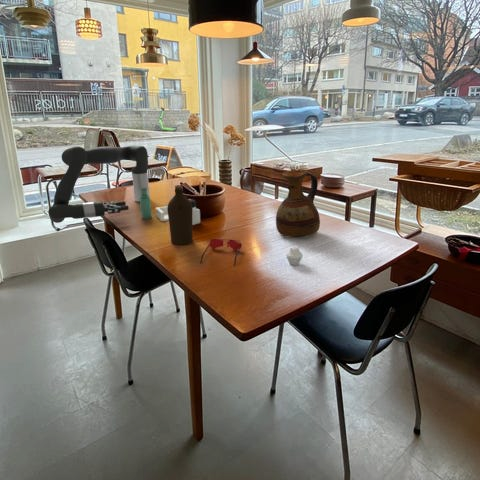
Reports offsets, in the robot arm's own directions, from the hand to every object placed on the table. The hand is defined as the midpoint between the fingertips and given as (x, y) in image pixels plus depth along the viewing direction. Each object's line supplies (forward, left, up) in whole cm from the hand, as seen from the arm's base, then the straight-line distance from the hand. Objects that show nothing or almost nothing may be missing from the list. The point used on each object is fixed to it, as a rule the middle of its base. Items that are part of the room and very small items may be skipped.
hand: (126, 205), depth 190 cm
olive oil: (+42, +16, -8) cm, 46 cm away
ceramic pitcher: (+57, +67, -8) cm, 88 cm away
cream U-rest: (+4, +21, -8) cm, 22 cm away
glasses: (+65, +25, -9) cm, 70 cm away
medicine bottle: (+19, +28, -8) cm, 34 cm away
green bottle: (0, +10, -8) cm, 12 cm away
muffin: (+84, +47, -8) cm, 96 cm away
